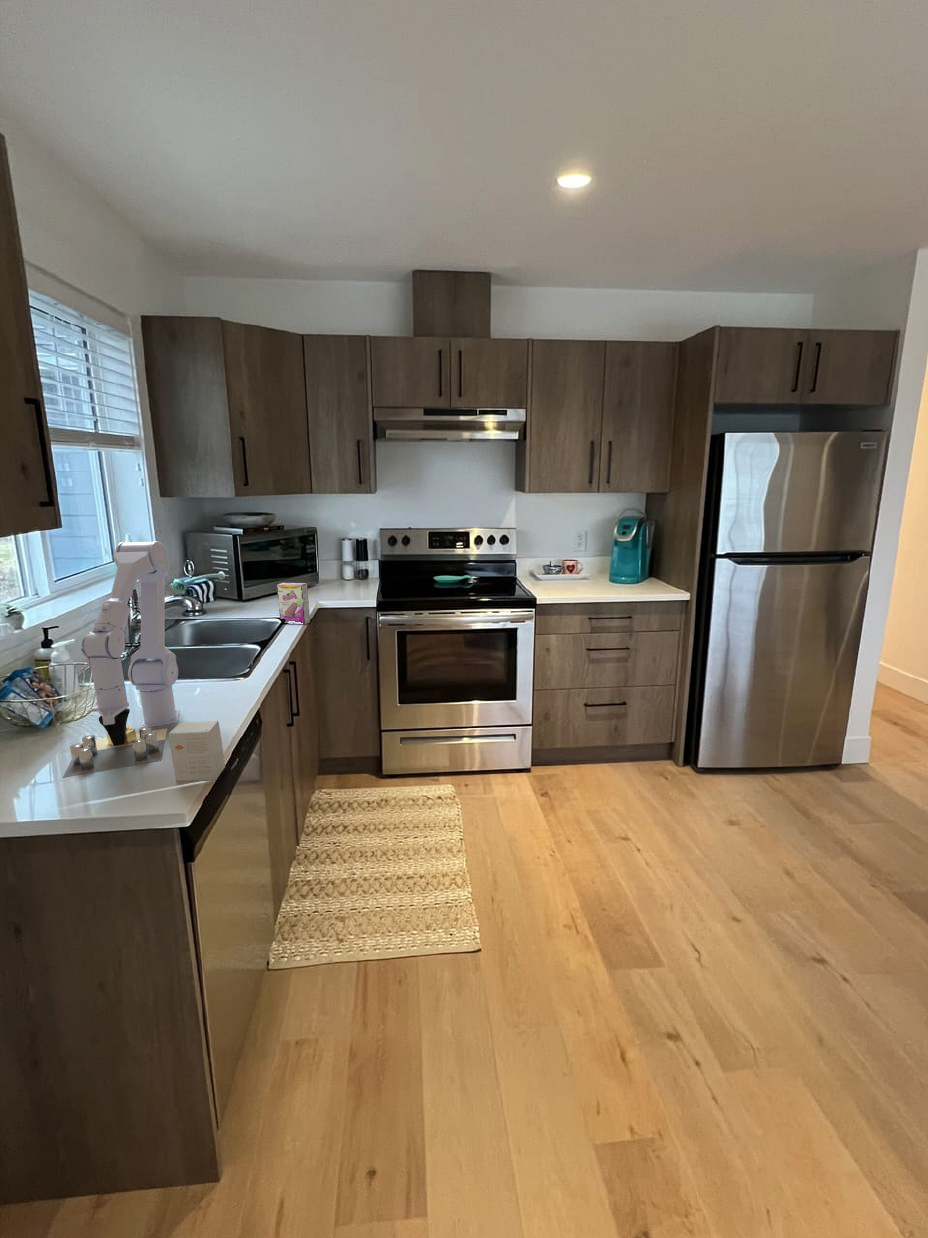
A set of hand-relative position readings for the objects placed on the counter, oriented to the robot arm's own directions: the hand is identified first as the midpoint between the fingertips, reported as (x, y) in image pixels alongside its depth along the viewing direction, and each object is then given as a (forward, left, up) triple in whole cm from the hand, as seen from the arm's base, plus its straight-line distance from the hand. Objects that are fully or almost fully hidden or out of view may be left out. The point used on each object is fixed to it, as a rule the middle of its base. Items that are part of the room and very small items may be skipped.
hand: (119, 744), depth 139 cm
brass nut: (-4, 0, -1) cm, 4 cm away
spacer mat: (+1, 0, -1) cm, 2 cm away
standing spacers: (+4, 0, -1) cm, 5 cm away
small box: (+21, +17, -2) cm, 27 cm away
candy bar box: (-109, +50, -2) cm, 120 cm away
